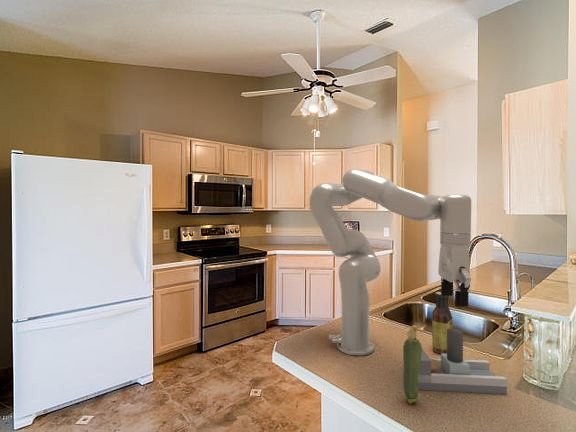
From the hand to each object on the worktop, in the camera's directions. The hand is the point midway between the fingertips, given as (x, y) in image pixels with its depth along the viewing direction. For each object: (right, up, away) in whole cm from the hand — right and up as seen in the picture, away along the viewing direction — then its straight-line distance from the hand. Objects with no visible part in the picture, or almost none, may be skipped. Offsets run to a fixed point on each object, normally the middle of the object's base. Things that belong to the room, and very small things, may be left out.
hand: (453, 300), depth 88 cm
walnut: (-5, -21, +1) cm, 22 cm away
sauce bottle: (+6, -23, +19) cm, 30 cm away
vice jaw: (0, -21, 0) cm, 21 cm away
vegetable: (-15, -24, -8) cm, 29 cm away
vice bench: (0, -23, +1) cm, 23 cm away
